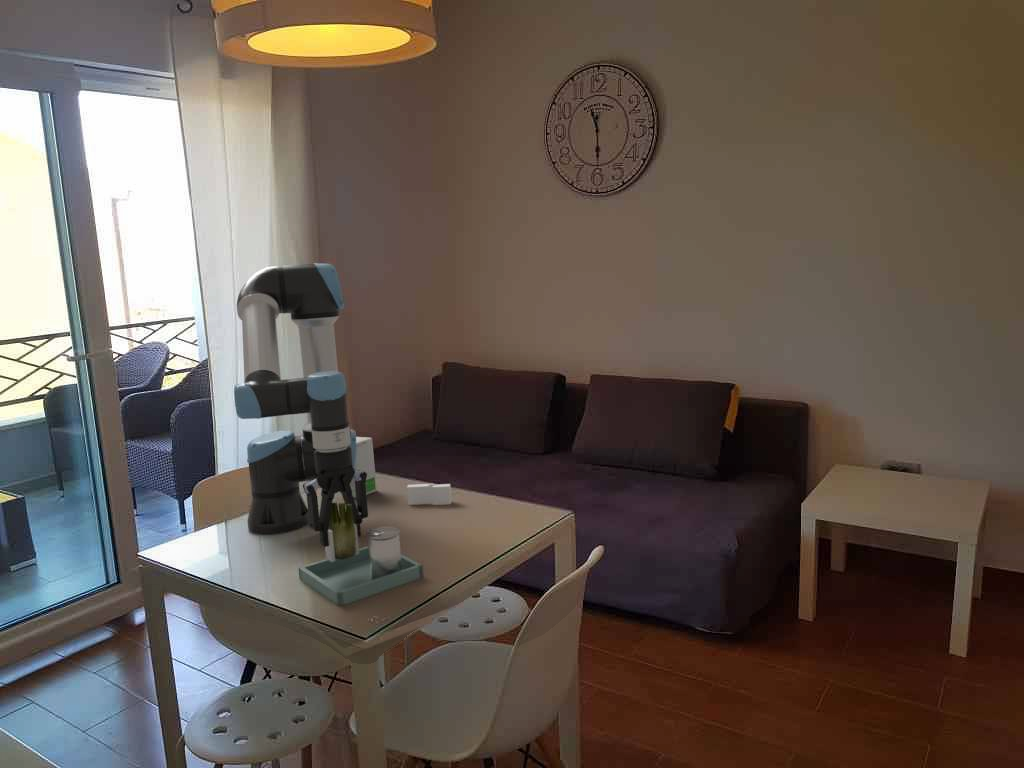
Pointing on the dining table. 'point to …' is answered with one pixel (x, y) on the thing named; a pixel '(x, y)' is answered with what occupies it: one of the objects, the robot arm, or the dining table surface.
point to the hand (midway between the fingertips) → (342, 556)
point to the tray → (355, 577)
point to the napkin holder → (429, 494)
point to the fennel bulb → (342, 530)
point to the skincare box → (365, 464)
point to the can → (384, 551)
